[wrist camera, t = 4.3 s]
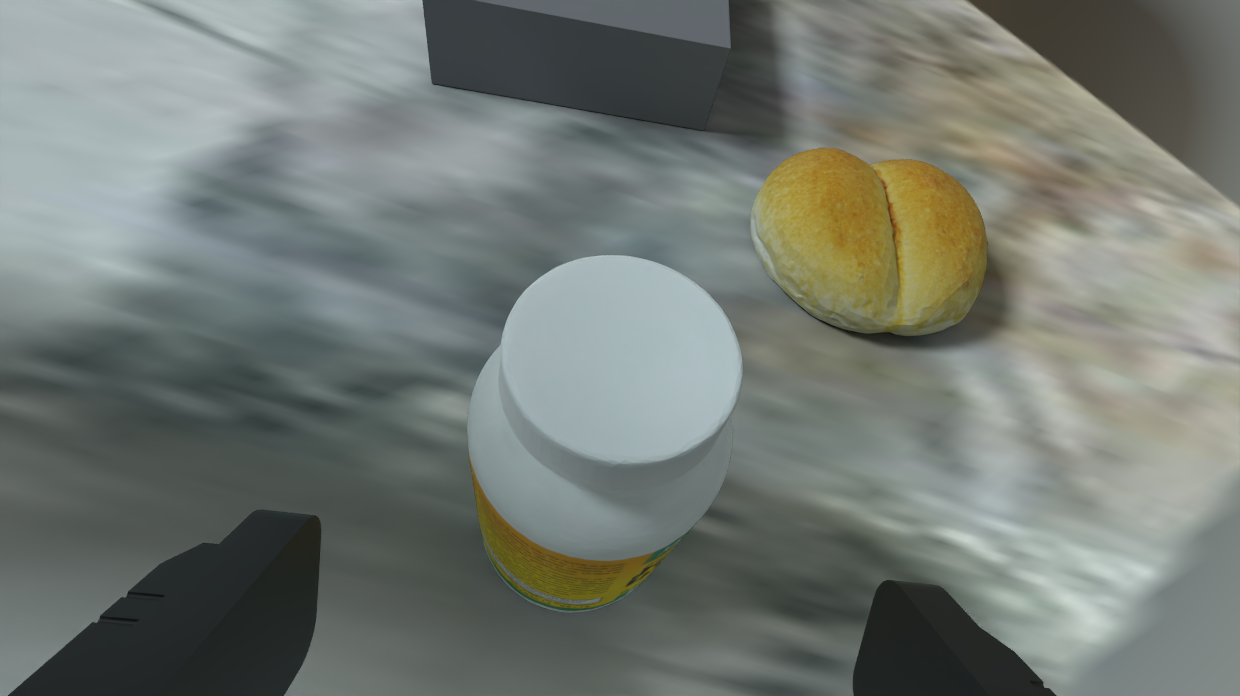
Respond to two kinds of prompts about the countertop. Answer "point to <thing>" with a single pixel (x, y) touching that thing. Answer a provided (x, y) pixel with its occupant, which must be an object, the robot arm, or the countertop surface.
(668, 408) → the supplement bottle
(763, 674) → the countertop surface
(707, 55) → the socket block
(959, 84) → the countertop surface
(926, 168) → the bread roll
